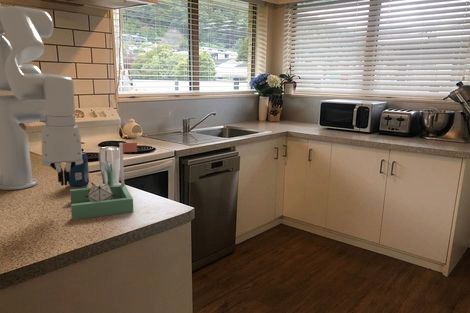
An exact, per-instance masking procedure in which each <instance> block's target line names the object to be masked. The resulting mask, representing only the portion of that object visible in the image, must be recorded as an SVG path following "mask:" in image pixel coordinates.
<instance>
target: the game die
mask: <svg viewBox="0 0 470 313" xmlns="http://www.w3.org/2000/svg"><path fill="white" fill-rule="evenodd" d="M90 184H91V185H92V186H91V187H90V188H91V189H90V191H89V193H88V195H85V197H87V198H88V199H89V201H88V202H94V201H104V200H113V197H115V196H116V195H115V194H113V192H112V190H111V188H110V186H109V184H110V182H108V184H103V183H98V184H97V183H95V184H94V183H93V182H91V183H90Z"/></svg>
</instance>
